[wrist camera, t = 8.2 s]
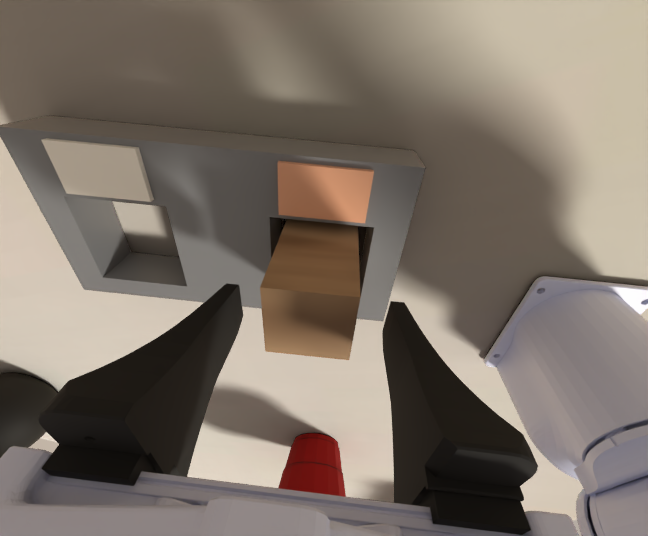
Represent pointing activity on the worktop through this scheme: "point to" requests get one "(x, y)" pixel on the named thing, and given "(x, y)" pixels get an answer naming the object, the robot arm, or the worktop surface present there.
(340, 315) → the plug
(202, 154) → the socket block
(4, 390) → the cola bottle
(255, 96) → the worktop surface
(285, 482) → the plastic cup
